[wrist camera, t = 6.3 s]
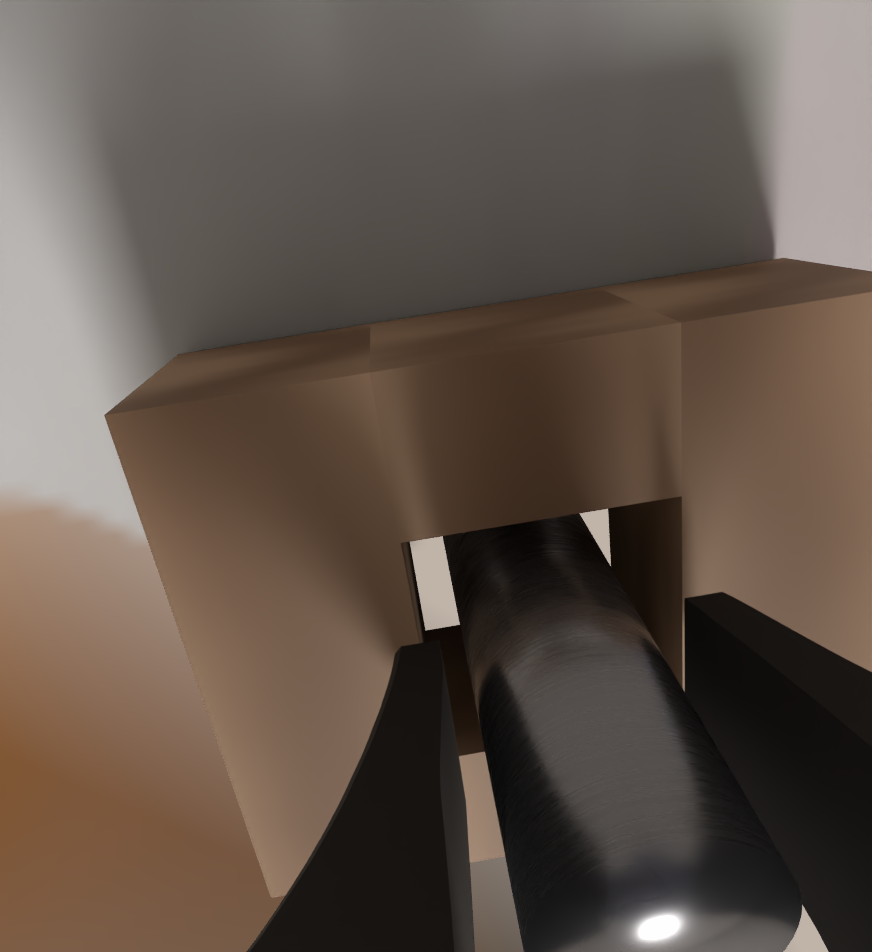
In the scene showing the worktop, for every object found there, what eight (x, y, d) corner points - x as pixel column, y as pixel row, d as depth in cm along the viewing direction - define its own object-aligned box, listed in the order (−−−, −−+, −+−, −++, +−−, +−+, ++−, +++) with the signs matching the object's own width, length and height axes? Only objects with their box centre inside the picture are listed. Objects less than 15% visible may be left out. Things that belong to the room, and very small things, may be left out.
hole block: (783, 257, 14) (936, 281, 10) (762, 665, 17) (866, 791, 14) (179, 354, 13) (104, 415, 10) (293, 746, 17) (271, 897, 13)
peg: (572, 456, 15) (817, 819, 7) (576, 572, 16) (787, 994, 8) (435, 476, 15) (516, 869, 7) (450, 591, 16) (534, 1038, 8)
